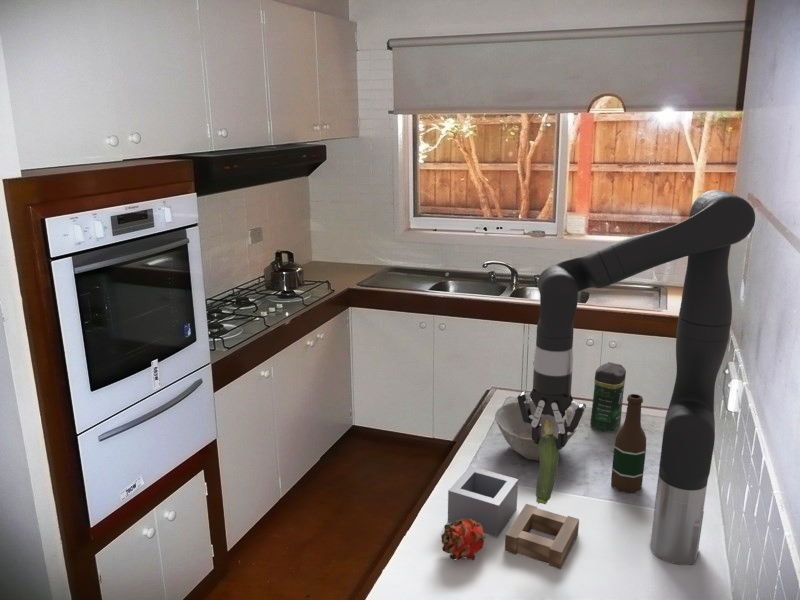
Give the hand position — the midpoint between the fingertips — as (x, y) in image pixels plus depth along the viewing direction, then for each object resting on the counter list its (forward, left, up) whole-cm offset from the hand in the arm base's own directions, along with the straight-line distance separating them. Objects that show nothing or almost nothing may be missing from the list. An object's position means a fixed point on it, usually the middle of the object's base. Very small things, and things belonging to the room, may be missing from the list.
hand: (548, 444), depth 139 cm
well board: (0, 0, -24) cm, 24 cm away
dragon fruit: (+13, +11, -24) cm, 29 cm away
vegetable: (0, 0, -14) cm, 14 cm away
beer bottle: (-11, -32, -24) cm, 41 cm away
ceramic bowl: (+14, -37, -24) cm, 46 cm away
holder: (+15, -3, -24) cm, 28 cm away
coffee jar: (+1, -62, -24) cm, 66 cm away
